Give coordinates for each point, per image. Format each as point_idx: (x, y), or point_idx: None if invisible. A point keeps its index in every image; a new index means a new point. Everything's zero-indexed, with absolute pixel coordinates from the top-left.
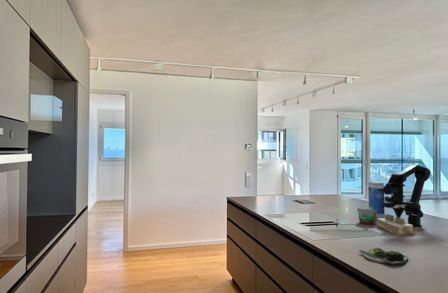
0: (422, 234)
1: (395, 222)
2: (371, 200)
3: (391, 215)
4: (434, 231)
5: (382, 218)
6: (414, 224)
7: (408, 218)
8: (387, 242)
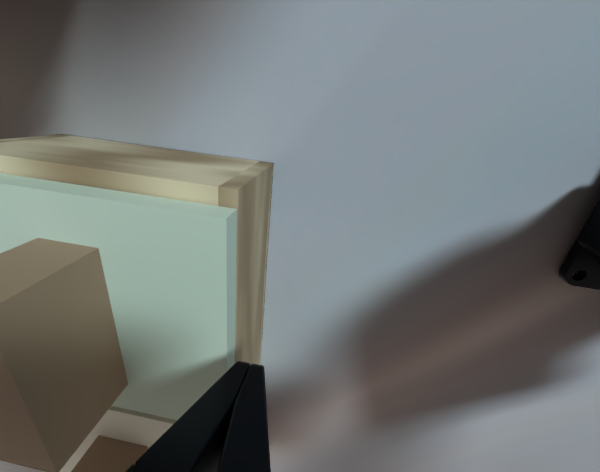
0: (326, 457)
1: (97, 444)
2: None
3: (28, 437)
4: (540, 451)
5: (2, 197)
6: None
7: None
8: (5, 463)
